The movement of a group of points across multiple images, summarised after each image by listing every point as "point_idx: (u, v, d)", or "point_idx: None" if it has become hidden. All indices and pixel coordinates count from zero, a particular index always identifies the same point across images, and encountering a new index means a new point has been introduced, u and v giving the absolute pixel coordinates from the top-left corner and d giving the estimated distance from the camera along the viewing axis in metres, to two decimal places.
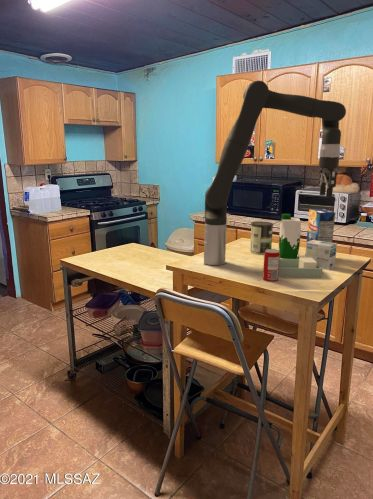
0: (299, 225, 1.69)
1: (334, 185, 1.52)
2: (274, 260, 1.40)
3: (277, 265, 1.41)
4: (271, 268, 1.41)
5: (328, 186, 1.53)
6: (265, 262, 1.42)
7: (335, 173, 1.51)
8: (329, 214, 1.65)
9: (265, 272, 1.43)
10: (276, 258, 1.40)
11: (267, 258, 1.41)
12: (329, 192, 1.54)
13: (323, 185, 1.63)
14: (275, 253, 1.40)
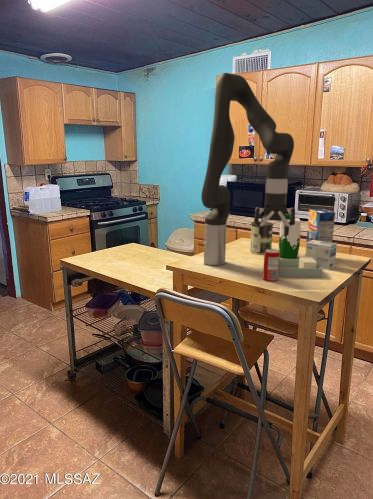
0: (299, 225, 1.69)
1: None
2: (274, 260, 1.40)
3: (277, 265, 1.41)
4: (271, 268, 1.41)
5: (289, 224, 1.39)
6: (265, 262, 1.42)
7: None
8: (329, 214, 1.65)
9: (265, 272, 1.43)
10: (276, 258, 1.40)
11: (267, 258, 1.41)
12: None
13: (262, 225, 1.40)
14: (275, 253, 1.40)
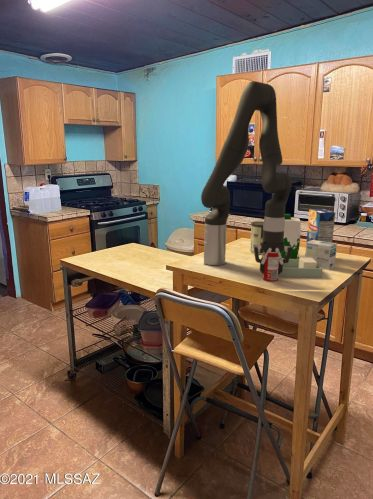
0: (299, 225, 1.69)
1: None
2: (274, 260, 1.40)
3: (277, 265, 1.41)
4: (271, 268, 1.41)
5: (283, 262, 1.42)
6: (265, 262, 1.42)
7: None
8: (329, 214, 1.65)
9: (265, 272, 1.43)
10: (276, 258, 1.40)
11: (267, 258, 1.41)
12: None
13: (263, 262, 1.44)
14: (275, 253, 1.40)
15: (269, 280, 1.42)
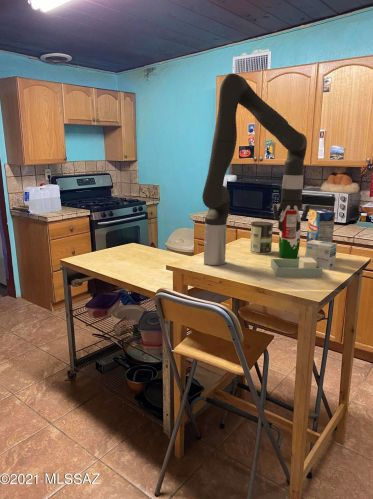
0: None
1: None
2: (292, 217, 1.46)
3: (295, 222, 1.47)
4: (289, 225, 1.47)
5: (301, 220, 1.48)
6: (284, 220, 1.48)
7: None
8: (329, 214, 1.65)
9: (283, 230, 1.49)
10: (294, 215, 1.46)
11: (285, 215, 1.47)
12: None
13: (282, 220, 1.49)
14: (293, 210, 1.46)
15: (287, 237, 1.48)
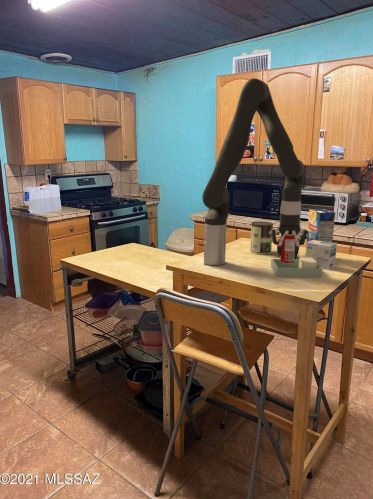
0: None
1: None
2: (291, 242, 1.49)
3: (293, 247, 1.50)
4: (288, 249, 1.49)
5: (299, 244, 1.51)
6: (282, 244, 1.50)
7: None
8: (329, 214, 1.65)
9: (282, 254, 1.51)
10: (293, 240, 1.49)
11: (284, 240, 1.49)
12: None
13: (280, 244, 1.52)
14: (292, 235, 1.48)
15: (286, 261, 1.51)
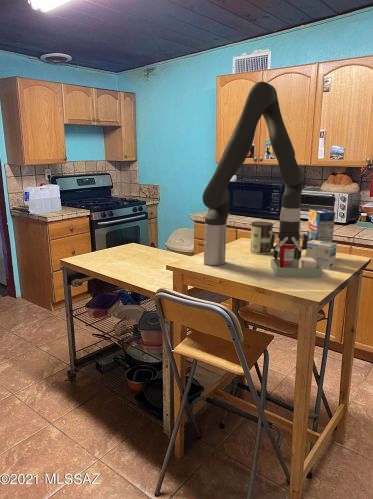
0: None
1: None
2: (290, 251, 1.50)
3: (292, 256, 1.51)
4: (287, 259, 1.50)
5: (301, 249, 1.51)
6: (281, 254, 1.52)
7: None
8: (329, 214, 1.65)
9: (281, 263, 1.52)
10: (292, 250, 1.50)
11: (283, 249, 1.50)
12: None
13: None
14: (291, 245, 1.49)
15: None
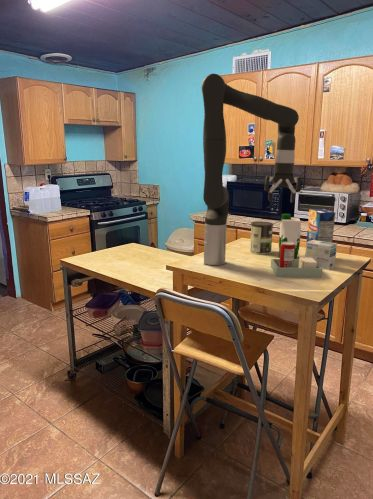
0: (299, 225, 1.69)
1: None
2: (290, 251, 1.50)
3: (292, 256, 1.51)
4: (287, 259, 1.50)
5: (295, 191, 1.57)
6: (281, 254, 1.52)
7: None
8: (329, 214, 1.65)
9: (281, 263, 1.52)
10: (292, 250, 1.50)
11: (283, 249, 1.50)
12: (294, 197, 1.58)
13: (272, 191, 1.58)
14: (291, 245, 1.49)
15: None
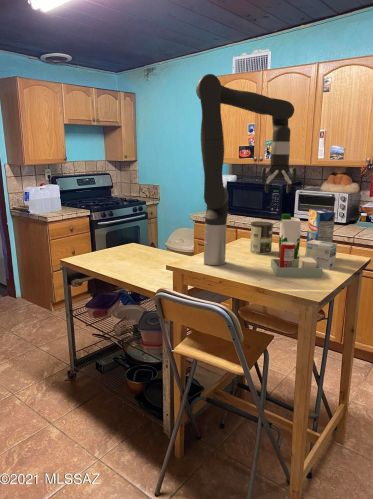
0: (299, 225, 1.69)
1: None
2: (290, 251, 1.50)
3: (292, 256, 1.51)
4: (287, 259, 1.50)
5: (291, 182, 1.61)
6: (281, 254, 1.52)
7: None
8: (329, 214, 1.65)
9: (281, 263, 1.52)
10: (292, 250, 1.50)
11: (283, 249, 1.50)
12: (290, 187, 1.63)
13: (268, 182, 1.63)
14: (291, 245, 1.49)
15: None
